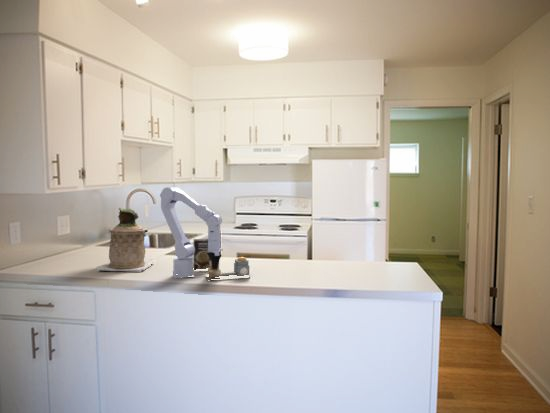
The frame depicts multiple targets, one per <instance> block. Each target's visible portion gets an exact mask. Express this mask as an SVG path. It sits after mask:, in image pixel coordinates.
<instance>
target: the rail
mask: <svg viewBox="0 0 550 413" xmlns="http://www.w3.org/2000/svg"><path fill="white" fill-rule="evenodd" d="M229 275H236V272H235V271H234V270H233V271H223V272H222V271H221V275H214V276H210V273H209V277H219V276H229Z"/></svg>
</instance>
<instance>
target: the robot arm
mask: <svg viewBox="0 0 550 413" xmlns="http://www.w3.org/2000/svg"><path fill="white" fill-rule="evenodd" d="M159 197H160V199H161V200H160V208H161V212H162V214H163V216H164V218H165V220H166V223H167V226H168V227H169V231H170V232H171V234H172V237H173V240H174V242H175V243H174V251H175V252H174V253H175V257H176V258H174V259H173V261H172V262H173V263H172V267H173V268H172V269H173V270H172V275H174V276H173V278H174V279H175V278H179V279H182V278H181V277H188V276H192V275H193V274H194V270H193V254H194V253H195V247H194V245H193V243H192V242H191V240H190V239H189V238H188V237H186V234H185V232H184V230H183V227H182V225H181V223H180V220H179V218H178V216H177V213H176V211H175V209H174V208H175V206H176V204H177V202H182V203H184V204H185V205H187V207H189V208H191V209H192V210H194V213H195V215H196V216H198V217H199V219H201V220H202V221H204V222H205V224H206V225H207V239H208V251H209V252H210V253H207V254H208V256H209V259H210V260H211V262H212V268H213V269H217V268H218V263H219V264H220V260H221V257H222V254H221V253H220V252H221V251H223V250H224V249H223V248H222V247H221V224H222V223H223V219H222V216H220V213H219V214H218V213H215V211H212V210H211V209H210V208H208V205H206V204H199V203H198V202H196V201H195V200H194V199H193V198H192V197H190V196H189V195H188V194H187V193H186V192H185V191H184V190H183V189H180V187H177V186H174V187H168V186H167V187H164V188H163V189H162V190H161V192H160V195H159ZM176 274H178V275H176Z"/></svg>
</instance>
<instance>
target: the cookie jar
mask: <svg viewBox="0 0 550 413" xmlns="http://www.w3.org/2000/svg"><path fill="white" fill-rule="evenodd" d="M118 210H119V211H118V216H117V217H118V220H119V223H118V224H116V226H114V227H113V228H109V233H110V241H109V251H108V259H109V262H107V263H104V264H102V265H98V266H96V267H95V269H96V270H97V272H98V273H99V272H100V271H103V272H105V271H107V272H131V273H142V271H146V270H147V269H148V267H149V268H150V267H152V266H151V265H148V264H150V263H154V262H157V260H156V259H145V256H146V244H145V232H146V229H145V228H143V226H141V225H139V224H137V223H136V220H137V219H138V218H139V215H138V213H137V212H135V210H133V209H131V208H122V207H119V208H118ZM145 269H146V270H145Z"/></svg>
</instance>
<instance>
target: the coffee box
mask: <svg viewBox="0 0 550 413" xmlns="http://www.w3.org/2000/svg"><path fill="white" fill-rule="evenodd" d="M192 244H193V245H194V247H195V253H194V254H193V268H194V270H196V269H206V268H210V259H209V256H208V254H207V253H210V252H209V251H208V238H199V239H198V238H196V239H195V238H194V239H193V243H192ZM194 270H193V271H194Z"/></svg>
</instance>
